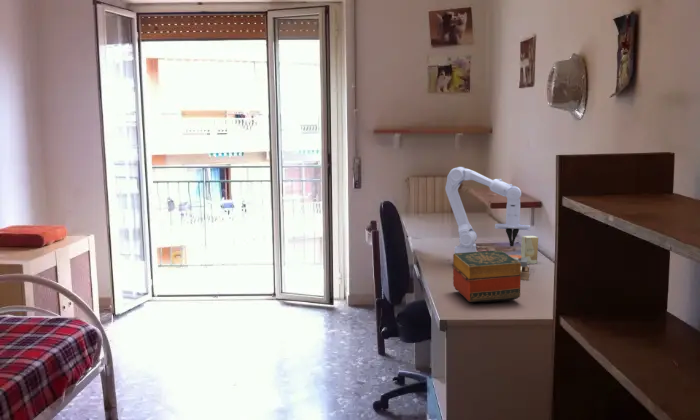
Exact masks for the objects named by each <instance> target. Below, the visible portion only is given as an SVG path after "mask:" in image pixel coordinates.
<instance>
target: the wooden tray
mask: <svg viewBox="0 0 700 420" xmlns="http://www.w3.org/2000/svg"><path fill="white" fill-rule="evenodd" d="M520 276H521V281H529V280H530V266H528V265H527V266H526V267H522V272H521V274H520Z"/></svg>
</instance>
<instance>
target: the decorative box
mask: <svg viewBox="0 0 700 420" xmlns="http://www.w3.org/2000/svg"><path fill="white" fill-rule="evenodd" d="M509 255H510V254H507V253H506V252H504V251H503V250H500V249H499V250H497V249H496V250H486V251H485V250H483V251H476V252H467V253H455V252H454V253H453V256H452V258H453V259H452V260H453V261H452V263H453V266H452V270H453V272H452V274H453V275H452V276H453V277H452V280H453V281H452V282H453V283H452V284H453V287H454V289H455V290H456V291H458V293H459V294H460V295H461V296H462V297H463V298H464V299H466V301H467V302H470V303H495V302H498V301H499V302H500V301H501V302H502V301H506V302H507V301H513V300H517V299H519V298H520V297H521V281H522V280H521V276H520V274H521V263H520V262H518V261H516V260H515V259H514V258H512V257H510V256H509Z"/></svg>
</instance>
